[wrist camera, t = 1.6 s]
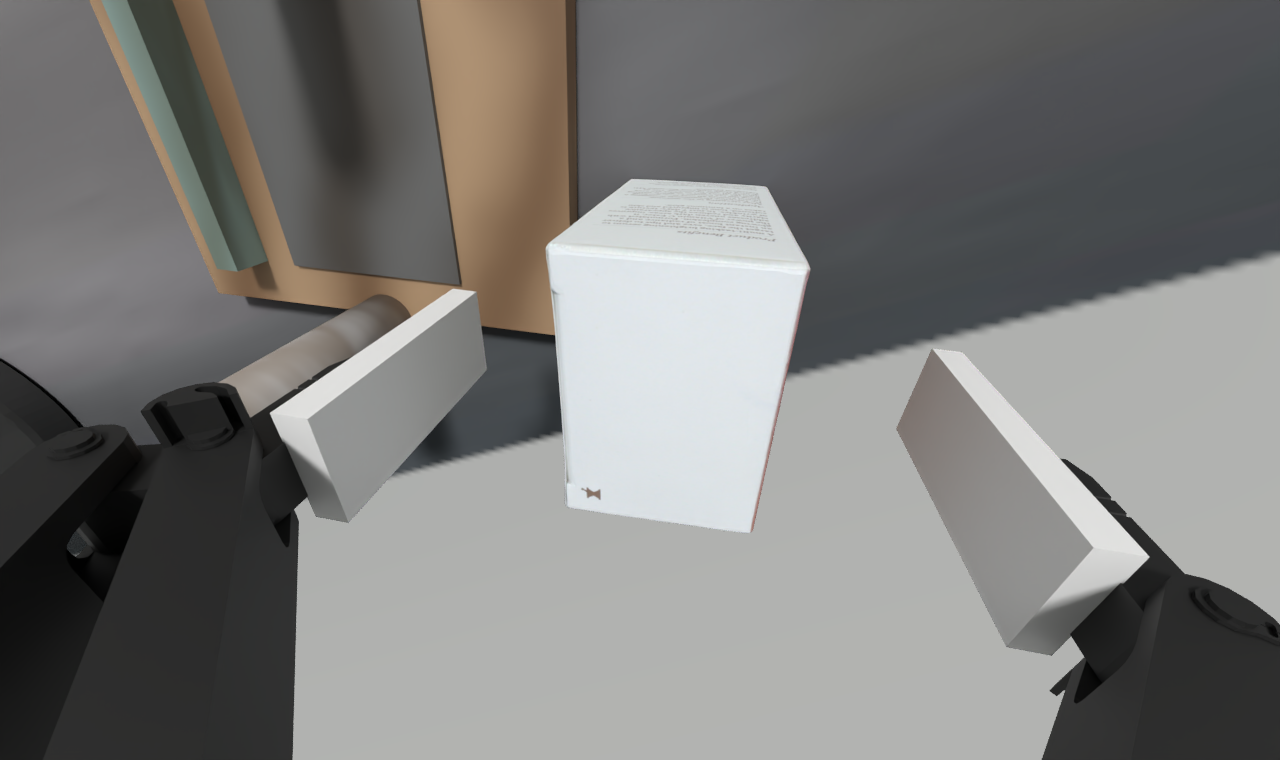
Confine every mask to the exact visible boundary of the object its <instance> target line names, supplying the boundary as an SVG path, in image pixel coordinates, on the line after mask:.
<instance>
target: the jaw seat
mask: <svg viewBox="0 0 1280 760" xmlns="http://www.w3.org/2000/svg"><path fill="white" fill-rule="evenodd" d="M89 1H90V3H91V5H92V7H93V10H94V12H95V14H96V16H97V19H98V21H99V23H100V26H101V28H102V30H103V32H104V35H105V37H106V39H107V41H108V44H109V46H110V48H111V50H112V53H113V55H114V57H115V59H116V62H117V64H118V66H119V69H120V71H121V73H122V75H123V78H124V80H125V82H126V84H127V87H128V89H129V91H130V93H131V96H132V98H133V100H134V102H135V105H136V107H137V109H138V111H139V114H140V116H141V118H142V121H143V123H144V125H145V127H146V130H147V132H148V134H149V136H150V139H151V141H152V143H153V145H154V148H155V150H156V152H157V154H158V157H159V159H160V161H161V163H162V166H163V168H164V170H165V173H166V175H167V177H168V179H169V182H170V184H171V186H172V188H173V191H174V193H175V195H176V197H177V200H178V202H179V204H180V206H181V209H182V211H183V213H184V215H185V218H186V220H187V222H188V225H189V227H190V229H191V231H192V234H193V236H194V238H195V240H196V243H197V245H198V247H199V249H200V252H201V254H202V256H203V258H204V261H205V263H206V265H207V268H208V270H209V272H210V274H211V277H212V279H213V281H214V283H215V286H216V288H217V290H218V292H219V293H223V294H231V295H239V296H247V297H255V298H263V299H271V300H279V301H287V302H295V303H303V304H311V305H319V306H327V307H335V308H343V309H349V310H347V311H345V312H343V313H341V314H340V315H338V316H336V317H334V318H333V319H331V320H329V321H327V322H325V323H324V324H322V325H320V326H318V327H317V328H315V329H313V330H311V331H309V332H308V333H306V334H304V335H302V336H300V337H299V338H297V339H295V340H293V341H292V342H290V343H288V344H286V345H284V346H283V347H281V348H279V349H277V350H276V351H274V352H272V353H270V354H268V355H267V356H265V357H263V358H261V359H259V360H258V361H256V362H254V363H252V364H251V365H249V366H247V367H245V368H243V369H242V370H240V371H238V372H236V373H235V374H233V375H231V376H229V377H227V378H226V379H224V380H222V381H220V382H218V383H227V384H230V385H232V386H234V387H236V389H237V391H238V394H239V396H240V398H241V400H242V402H243V404H244V406H245V408H246V410H247V412H248V414H249V417H250V418H251V417H252V416H254V415H255V414H257V413H258V412H260V411H261V410H263V409H264V408H266V407H267V406H269V405H270V404H272V403H273V402H275V401H277V400H278V399H280V398H281V397H283V396H284V395H286V394H287V393H289V392H290V391H292V390H293V389H298V386H299V385H301V384H302V383H304V382H305V381H307V380H308V379H310V380H311V379H312V377H313V376H314V375H316V374H317V373H319V372H320V371H322V370H323V369H325V368H326V367H328V366H330V365H332V364H335V363H337V362H340V361H342V360H345V359H347V358H350V357H353V356H354V355H356V354H357V353H359V352H360V351H362V350H363V349H365V348H366V347H368V346H369V345H371V344H372V343H374V342H375V341H377V340H378V339H379V338H381V337H382V336H384V335H385V334H387V333H388V332H390V331H391V330H393V329H394V328H396V327H397V326H399V325H400V324H402V323H403V322H405V321H406V320H407V319H409V318H410V317H412V316H413V315H415V314H416V313H418V312H419V311H421V310H422V309H424V308H425V307H427V306H428V305H430V304H431V303H433V302H434V301H435V300H437V299H438V298H440V297H441V296H443V295H444V294H446V293H447V292H449V291H450V290H452V289H459V290H467V291H475V292H477V299H478V306H479V314H480V321H481V326H486V327H494V328H502V329H510V330H518V331H526V332H534V333H542V334H550V335H555V326H554V316H553V306H552V296H551V289H550V282H549V273H548V266H547V260H546V246H547V245H548V243H550V242H551V241H552V240H553V239H555V238H556V237H557V236H559V235H560V234H561V233H562V232H564V231H565V230H566V229H568V228H569V227H570V226H572V225H573V224H574V223H575V222H577V221H578V220H577V117H576V14H575V0H89Z"/></svg>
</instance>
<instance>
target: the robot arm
mask: <svg viewBox="0 0 1280 760" xmlns="http://www.w3.org/2000/svg"><path fill="white" fill-rule="evenodd" d="M486 370H487V367H486V359H485V352H484V344H483V336H482V329H481V321H480V314H479V306H478V299H477V292H475V291H467V290H459V289H452V290H450V291H449V292H447V293H446V294H444V295H443V296H441V297H440V298H438V299H437V300H435V301H434V302H433V303H431V304H430V305H428V306H427V307H425V308H424V309H422V310H421V311H419V312H418V313H416V314H415V315H413V316H412V317H410V318H409V319H407V320H406V321H405V322H403V323H402V324H400V325H399V326H397V327H396V328H394V329H393V330H391V331H390V332H388V333H387V334H385V335H384V336H382V337H381V338H379V339H378V340H377V341H375V342H374V343H372V344H371V345H369V346H368V347H366V348H365V349H363V350H362V351H360V352H359V353H357V354H356V355H354V356H353V357H350V358H347V359H345V360H342V361H340V362H337V363H335V364H332V365H330V366H328V367H326V368H325V369H323V370H322V371H320V372H319V373H317V374H316V375H314V376H313V377H312V379H311V380H310V379H308V380H307V381H305V382H304V383H302V384H301V385H299V386H298V389H293V390H292V391H290V392H289V393H287V394H286V395H284V396H283V397H281V398H280V399H278V400H277V401H275V402H273V403H272V404H270V405H269V406H267V407H266V408H264V409H263V410H261V411H260V412H258V413H257V414H255V415H254V416H252V417H251V418H250V417H249V414H248V412H247V410H246V408H245V406H244V404H243V402H242V400H241V398H240V396H239V394H238V391H237V389H236V387H234V386H232V385H230V384H227V383H216V382H212V383H203V384H195V385H191V386H187V387H183V388H179V389H176V390H174V391H171V392H169V393H166V394H164V395H161V396H160V397H158V398H156V399H154V400H153V401H151V402H149V403H148V404H147V405H146V406H145V407H144V408H143V409H142V410H141V413H142V415H143V416H144V418H145V419H146V421H147V423H148V424H149V426H150V427H151V429H152V431H153V432H154V434H155V435H156V437H157V439H158V440H159V442H160V443H161V444H155V445H138V446H137V445H136V443H135V442H134V440H133V439H132V437H131V436H130V434H129V433H128V431H127V430H126V428H125V427H121V426H118V425H96V426H91V427H81V428H79V427H78V426H77V425H76V424H75V422H74V421H73V420H72V419H71V418H70V417H69V416H68V415H67V414H66V413H65V412H64V411H63V410H62V409H61V408H60V407H59V406H58V405H57V404H56V403H55V402H54V401H53V400H52V399H51V398H49V397H48V396H47V395H46V394H45V393H44V392H42V391H41V390H40V389H39V388H38V387H36V386H35V385H34V384H33V383H31V382H30V381H29V380H27V379H26V378H25V377H23V376H22V375H20V374H19V373H18V372H16V371H15V370H13V369H12V368H10V367H9V366H7V365H6V364H4V363H3V362H1V361H0V760H292V754H293V716H294V680H295V679H294V677H295V641H296V604H297V603H296V602H297V567H298V566H297V565H298V564H297V563H298V530H299V521H298V518H297V515H296V513H295V511H294V509H295V508H296V507H297V506H298V505H299V504H300V503H301V502H302V501H303V500H304V499H305V498H306V497H307V498H308V500H309V502H310V504H311V507H312V509H313V511H314V513H315V516H316V517H320V518H326V519H331V520H336V521H342V522H347V523H349V522H350V521H351V519H352V518H353V517H354V516H355V515H356V514H357V513H358V512H359V510H360V509H361V508H362V507H363V506H364V505H365V504H366V503H367V502H368V501H369V500H370V498H371V497H372V496H373V495H374V494H375V493H376V492H377V490H379V488H380V487H381V486H382V485H383V484H384V483H385V482H386V481H387V480H388V479H389V477H390V476H391V475H392V474H393V473H394V472H395V471H396V470H397V469H398V467H399V466H400V465H401V464H402V463H403V462H404V461H405V460H406V459H407V458H408V456H409V455H410V454H411V453H412V452H413V451H414V450H415V449H416V448H417V446H418V445H419V444H420V443H421V442H422V441H423V440H424V439H425V438H426V437H427V435H428V434H429V433H430V432H431V431H432V430H433V429H434V428H435V427H436V425H437V424H438V423H439V422H440V421H441V420H442V419H443V418H444V417H445V416H446V414H447V413H448V412H449V411H450V410H451V409H452V408H453V407H454V406H455V404H456V403H457V402H458V401H459V400H460V399H461V398H462V397H463V396H464V395H465V393H466V392H467V391H468V390H469V389H470V388H471V387H472V386H473V385H474V383H475V382H476V381H477V380H478V379H479V378H480V377H481V376H482V375H483V373H484V372H485V371H486ZM897 431H898V433H899V435H900V437H901V439H902V441H903V443H904V445H905V447H906V449H907V451H908V453H909V455H910V457H911V458H912V461H913V463H914V465H915V467H916V468H917V471H918V472H919V474H920V477H921V479H922V481H923V483H924V484H925V487H926V488H927V490H928V492H929V494H930V496H931V498H932V500H933V502H934V504H935V506H936V508H937V510H938V512H939V514H940V516H941V518H942V520H943V522H944V524H945V526H946V528H947V530H948V532H949V534H950V536H951V538H952V540H953V542H954V544H955V546H956V548H957V550H958V552H959V554H960V556H961V558H962V560H963V562H964V564H965V566H966V568H967V570H968V572H969V574H970V576H971V577H972V580H973V582H974V584H975V586H976V588H977V590H978V592H979V594H980V596H981V598H982V600H983V602H984V604H985V606H986V608H987V610H988V612H989V614H990V615H991V617H992V620H993V622H994V624H995V625H996V627H997V629H998V631H999V633H1000V635H1001V637H1002V639H1003V641H1004V643H1005V645H1006V647H1009V648H1014V649H1020V650H1025V651H1031V652H1035V653H1041V654H1046V655H1051V656H1052V655H1053V654H1054V653H1055V652H1056V651H1057V650H1058V649H1059V648H1060V647H1061V646H1062V645H1063V644H1064V643H1065V642H1066V641H1067V640H1068V639H1069V638H1070V637H1071V636H1072V638H1073V639H1074V641H1075V643H1076V644H1077V646H1078V647H1079V649H1080V650H1081V652H1082V654H1083V655H1084V658H1083V659H1082V660H1081V661H1080V662H1079V663H1078V664H1077V665H1076V666H1075V667H1074V668H1073V669H1071V670H1070V671H1069V672H1068V673H1067V674H1066V675H1065V676H1064V677H1063V678H1062V679H1061V680H1060V681H1059V682H1058V683H1057V684H1055V685H1054V687H1053V688H1052V689H1051V690H1050V692H1052V693H1053V694H1055V695H1056V696H1057V695H1059V694H1060V693H1061V692H1062V691H1063V690H1065V693H1064V696H1063V699H1062V702H1061V705H1060V708H1059V711H1058V714H1057V717H1056V720H1055V722H1054V725H1053V728H1052V731H1051V734H1050V737H1049V740H1048V743H1047V746H1046V749H1045V752H1044V755H1043V758H1042V760H1280V625H1279V623H1278V622H1277V621H1276V620H1275V619H1274V618H1273V617H1271V616H1270V615H1268V614H1267V613H1266V612H1265V611H1263V610H1262V609H1261V608H1259V607H1258V606H1257V605H1255V604H1254V603H1253V602H1251V601H1249V600H1248V599H1246V598H1244V597H1242V596H1241V595H1239V594H1237V593H1236V592H1234V591H1232V590H1230V589H1229V588H1226V587H1224V586H1221V585H1219V584H1217V583H1214V582H1212V581H1210V580H1207V579H1204V578H1200V577H1196V576H1191V575H1187V574H1184V573H1183V572H1182V571H1181V569H1179V567H1178V566H1177V565H1176V564H1175V563H1174V562H1173V561H1172V560H1171V559H1170V558H1169V557H1168V556H1167V555H1166V554H1165V553H1164V552H1163V551H1162V550H1161V549H1160V548H1159V547H1158V545H1157V544H1156V543H1155V542H1154V541H1153V540H1151V538H1150V537H1149V536H1148V535H1147V534H1146V533H1145V532H1144V531H1143V530H1142V529H1141V528H1140V527H1139V526H1138V525H1137V524H1136V523H1135V522H1134V520H1133V519H1132V518H1130V517H1126V512H1125V511H1124V510H1123V509H1122V508H1121V507H1120V506H1119V505H1118V504H1117V503H1116V502H1115V501H1112V500H1111V496H1110V495H1109V494H1108V493H1107V492H1106V491H1105V490H1104V489H1103V488H1102V487H1101V486H1100V485H1099V484H1098V483H1097V482H1096V481H1095V480H1094V479H1093V478H1092V477H1091V476H1089V475H1088V474H1086V473H1085V472H1084V471H1082V470H1080V469H1079V468H1078V467H1076V466H1075V465H1073V464H1072V463H1071V462H1069V461H1068V460H1066V459H1059V457H1058V456H1057V455H1056V454H1055V453H1054V452H1053V451H1052V450H1051V449H1050V448H1049V447H1048V445H1047V444H1046V443H1045V442H1044V441H1043V440H1042V439H1041V438H1040V437H1039V436H1038V435H1037V433H1035V431H1034V430H1033V429H1032V428H1031V427H1030V426H1029V425H1028V424H1027V423H1026V421H1025V420H1024V419H1023V418H1022V417H1021V416H1020V415H1019V414H1018V413H1017V412H1016V411H1015V410H1014V408H1013V407H1012V406H1011V405H1010V404H1009V403H1008V402H1007V401H1006V400H1005V399H1004V398H1003V396H1002V395H1001V394H1000V393H999V392H998V391H997V390H996V389H995V388H994V387H993V385H992V384H991V383H990V382H989V381H988V380H987V379H986V378H985V377H984V376H983V375H982V374H981V373H980V371H979V370H978V369H977V368H976V367H975V366H974V365H973V364H972V363H971V362H970V360H969V359H968V358H967V357H966V356H965V355H964V354H963V353H962V352H957V351H948V350H940V349H932V350H931V352H930V354H929V357H928V359H927V361H926V364H925V366H924V368H923V370H922V372H921V375H920V377H919V379H918V381H917V384H916V386H915V388H914V390H913V392H912V395H911V397H910V399H909V402H908V404H907V406H906V408H905V410H904V413H903V415H902V417H901V420H900V422H899V424H898V426H897ZM75 531H77V532H78V534H79V535H80V536H81V537H82V538H83V539H84V540H85V542H86V543H87V546H86V547H85V548H84V549H83V551H82V552H81V553H80V554H79V555H77V556H76V557H75V556H73V555H72V554H71V553H70V552H69V551H68V550H67V544H68V542H69V540H70V538H71V537H72V535H73V533H74V532H75Z"/></svg>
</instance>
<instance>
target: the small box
mask: <svg viewBox="0 0 1280 760" xmlns="http://www.w3.org/2000/svg"><path fill="white" fill-rule="evenodd" d="M546 260H547V266H548V273H549V282H550V289H551V296H552V306H553V316H554V326H555V338H556V351H557V363H558V376H559V389H560V402H561V416H562V431H563V444H564V465H565V505H566V506H567V507H568V508H573V509H579V510H586V511H593V512H599V513H605V514H613V515H619V516H627V517H634V518H641V519H648V520H654V521H661V522H669V523H676V524H683V525H689V526H696V527H703V528H710V529H718V530H724V531H734V532H741V533H751V532H752V530H753V527H754V522H755V518H756V513H757V508H758V504H759V499H760V495H761V490H762V485H763V481H764V476H765V471H766V467H767V463H768V458H769V453H770V448H771V444H772V440H773V435H774V430H775V425H776V421H777V417H778V412H779V408H780V403H781V398H782V394H783V389H784V385H785V380H786V376H787V371H788V367H789V362H790V358H791V353H792V349H793V344H794V340H795V335H796V331H797V326H798V321H799V317H800V312H801V307H802V302H803V297H804V293H805V288H806V284H807V280H808V277H809V273H810V267H809V264H808V262H807V260H806V258H805V256H804V254H803V253H802V251H801V249H800V247H799V245H798V244H797V242H796V240H795V238H794V236H793V234H792V233H791V230H790V229H789V227H788V225H787V223H786V221H785V220H784V218H783V216H782V214H781V213H780V211H779V209H778V207H777V205H776V203H775V201H774V199H773V198H772V196H771V194H770V192H769V190H768V188H767V187H763V186H751V185H738V184H721V183H702V182H684V181H666V180H642V179H631V180H629V181H628V182H627V183H625V184H624V185H623V186H622V187H620V188H619V189H618V190H617V191H615V192H614V193H613V194H611V195H610V196H609V197H607V198H606V199H605V200H603V201H602V202H601V203H599V204H598V205H597V206H596V207H594V208H593V209H592V210H590V211H589V212H588V213H587V214H585V215H584V216H583V217H582V218H580V219H579V220H578V221H577V222H575V223H574V224H573V225H572V226H570V227H569V228H568V229H566V230H565V231H564V232H562V233H561V234H560V235H559V236H557V237H556V238H555V239H553V240H552V241H551V242H550V243H548V245H547V246H546Z"/></svg>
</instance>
